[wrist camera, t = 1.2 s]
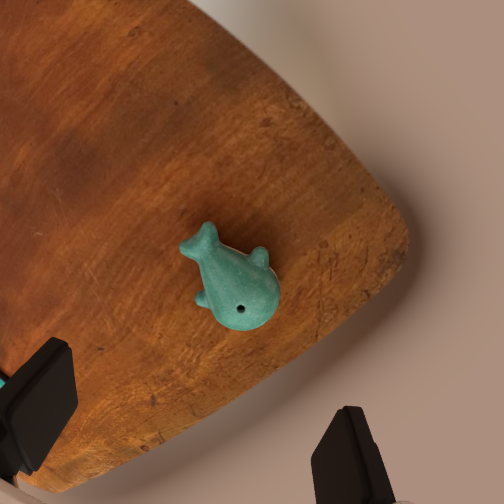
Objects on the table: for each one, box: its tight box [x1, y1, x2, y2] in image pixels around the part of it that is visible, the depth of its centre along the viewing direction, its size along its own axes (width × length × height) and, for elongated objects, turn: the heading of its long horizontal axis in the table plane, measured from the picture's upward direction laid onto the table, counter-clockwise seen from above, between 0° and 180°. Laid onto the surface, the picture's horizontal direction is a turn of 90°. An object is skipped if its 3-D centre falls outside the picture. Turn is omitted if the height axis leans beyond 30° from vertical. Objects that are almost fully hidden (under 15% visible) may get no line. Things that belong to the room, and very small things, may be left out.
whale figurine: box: [179, 221, 280, 331], centre depth 20 cm, size 6×7×4 cm
